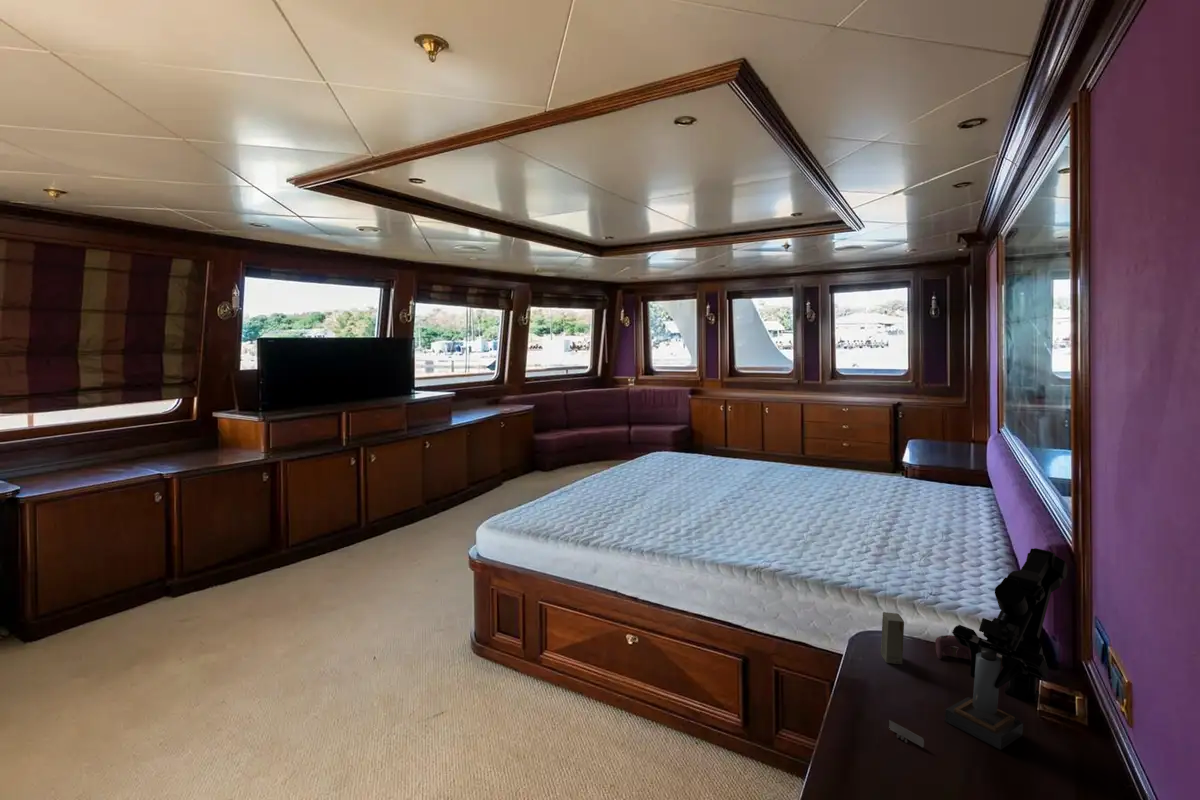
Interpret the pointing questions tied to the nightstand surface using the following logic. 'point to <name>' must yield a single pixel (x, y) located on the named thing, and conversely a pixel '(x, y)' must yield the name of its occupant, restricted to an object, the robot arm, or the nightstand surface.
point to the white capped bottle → (986, 681)
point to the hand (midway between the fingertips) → (983, 682)
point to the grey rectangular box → (984, 723)
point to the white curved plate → (906, 734)
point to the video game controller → (944, 645)
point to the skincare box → (892, 638)
